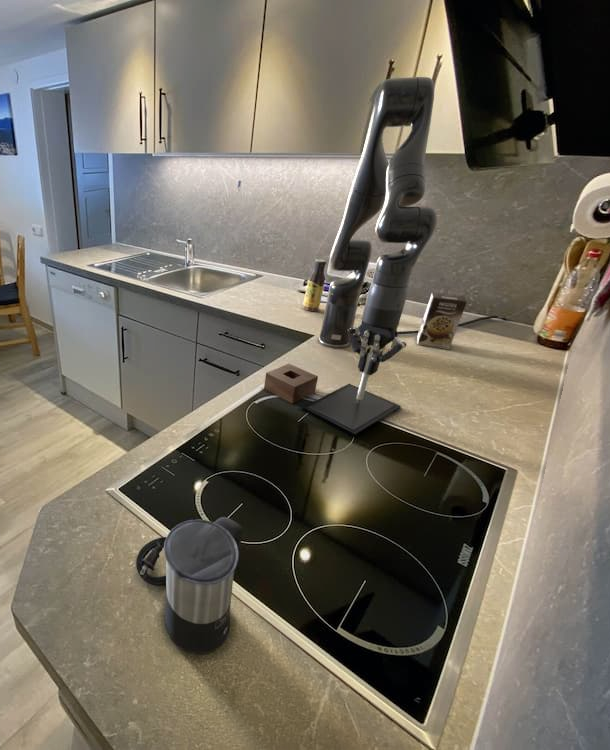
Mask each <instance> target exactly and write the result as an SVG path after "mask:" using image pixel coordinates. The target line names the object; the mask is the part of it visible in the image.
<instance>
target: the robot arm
mask: <svg viewBox="0 0 610 750" xmlns="http://www.w3.org/2000/svg"><path fill="white" fill-rule="evenodd" d="M373 101H374V102H373V106H372V109H371V113H370V118H369V123H368V127H367V131H366V135H365V141H364V144H363V149H362V152H361V156H360V159H359V162H358V165H357V169H356V171H355V175H354V178H353V180H352V183H351V187H350V191H349V194H348V197H347V201H346V205H345V209H344V214H343V217H342V221H341V223H340V227H339V229H338V231H337V234H336V236H335V239H334V243H333V246H332V248H331V251H330V255H329V261H328V262H329V263H328V264H329V268H330V269H331V270H332V271H336V272H350V273H349V274H348V275H347V276H345V277H342V278H339V279H335V280H333V281H331V283H330V284H329V288H328V293H327V298H326V304H325V308H324V313H323V319H322V322H321V323H322V324H321V328H320V333H319V337H318V342H319V343H320V344H322V345H324V346H326V347H330V348H346V347H348V346H349V345H351V348H352V351H353V353H355V354H356V353H357V354H358V355H359V360H358V363H357V364H358V365H357V368H358V372H360V373H363V371H364V367H365V363H366V359H367V355H368V353H372V358H371V361H370V363H369V367H368V371H367V374H368V375H369V376H372V375H374V374H376V373H377V372H378V369H379V366H380V362H381V363H384V362H386V361H388V360H390V359H391V358H393V357H394V356H395V355H397V354H398V353H400V351H403V349H404V348H406V347H407V342H405V341H401V340H400V339H399V338H398V335H414V334H418V333H419V330H420V329H418V330H402V331H401V330H400V331H398V327H399V325H400V321H401V317H402V315H403V310H404V308H405V303H406V301H407V297H408V291H409V290H408V289H409V285H410V282H411V278H412V275H413V271H414V268H415V266H416V263H417V262H418V260H419V258H420V256H421V255H422V252H423V251H424V249H425V248H426V246H427V244H428V243H429V241H430V240H431V239H432V237H433V235H434V233H435V230H436V229H437V226H438V214H437V212H436V210H435V209H434V208H432V207H431V206H413V205H415V204H417V203H419V202H420V201H421V200H422V199H423V197H424V195H425V193H426V152H427V147H428V146H427V145H428V140H429V135H430V129H431V128H430V127H431V123H432V115H433V110H434V109H433V108H434V101H435V83H434V80H433V79H432V78H431V77H428V76H412V77H392V78H387V79H385V80H384V81H383V82H382V83H381V84H380V86H379V87H378V90H377V93H376V94H375V99H374V100H373ZM402 127H403V128H406V127H407V128H408V127H411V130H410V133H409V134H408V136H407V137H406V139H405V140H404V141H403V143H402V144H401V145H400V146H399V147H398V148H397V150H396V151H395V152H394V153H393V155H392V156H391V158H390V160H388V158H387V155H386V152H385V149H384V148H385V147H384V142H383V135H384V131H385V129H386V128H402ZM379 212H380V214H379ZM378 214H379V216H378V219H377V221H376V224H375V230H374V231H375V232H374V233H375V236H376V238H377V239H378V240H379V241H380V242H381V243H384V244H405V245H404V247H403V248H402V249H400V250H398V251H397V252H396V251H395V252H391V253H385V254H382V255H380V256H379V257H378V258H377V261H376V264H375V268H374V271H373V276H372V280H371V283H370V286H369V288H368V292H367V295H366V298H365V304H364V308H363V311H362V315H361V321H360V323H359V324H358V326H354V325H355V321H356V314H357V310H358V305H359V300H360V297H361V293H362V289H363V286H364V283H365V277H366V274H367V270H368V268H369V264H370V261H371V257H372V251H373V245H372V243H371V241H369V240H363V239H352V238H353V236H354V235H355V234H356V232H358V230H360V229H361V228H362V227H363V226H364V225H365V224H367V223H368V222H369V221H371V220H372V219H373V218H374V217H375V216H377V215H378ZM496 315H497V314H495V315H494V314H493V315H489V316H482V317H478V318H476V319H472V320H469V321H464V322H461V323H459V324H458V327H457V328H460V327H464V326H467V325H471V324H474V323H476V322H479V321H485V320H486V321H487V320H491V319H499V318H498V316H496ZM500 319H501V320H502V321H507V318H506V317H505V318H500ZM390 343H391V345H390V348H391V349H389V350H388V351H386V353H384V352H385V350H386V347H387V345H389V344H390Z"/></svg>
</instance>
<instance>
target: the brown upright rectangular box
mask: <svg viewBox="0 0 610 750" xmlns="http://www.w3.org/2000/svg"><path fill="white" fill-rule="evenodd" d="M467 302H468V301H467V299H466V297H465V296H464V295H463V296H462V295H453V294H446V293H438V292H431V294H430V297H429V300H428V303H427V306H426V308H425V312H424V315H423V318H422V321H421V324H420V326H419V329H418V330H419V333H417V336H416V344H417V345H419V346H426V347H433V348H439V349H444V350H450V348H451V345H452V342H453V340H454V337H455V335H456V332H457V329H458V328H459V327H458V324H460V322H461V319H462V316H463V314H464V312H465V308H466V306H467Z"/></svg>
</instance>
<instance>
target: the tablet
mask: <svg viewBox="0 0 610 750" xmlns="http://www.w3.org/2000/svg"><path fill="white" fill-rule="evenodd" d="M358 390H359V386H356V385H354V384H351V383H347V384H346V385H344V386H342V387H340V388H338V389H336V390H333V391H331V392H330V393H328V394H325V395H324V396H322V397H319V398H318V399H316V400H313V401H312V402H310V403H308V404H306V405H304V406H302V408H301V410H302V411H304V412H305V413H307V414H309V415H311V416H313V417H315V418H317V419H318V420H320V421H322V422H324V423H326V424H328V425H330V426H331V427H334V428H335V429H337V430H339V431H341V432H343V433H345V434H347V435H349V436H350V437H353V438H356V437H357V436H359V435H360V434H362V433H364V432H365V431H367V430H369V429H371V427H374V426H375V425H377V424H378V423H380V422H381V421H383V420H384V419H386V418H388V417H389V416H391V415H393V414H394V413H396V412H398V411H399V410H401V408H402V405H400V404H397V403H395V402H393V401H391V400H388V399H386V398H384V397H381V396H379V395H377V394H375V393H372V392H370V391H368V390H365V392H364V396H363V399H362V400H361V401H360V403H357V400H358V399H357V398H356V397H357V394H358Z"/></svg>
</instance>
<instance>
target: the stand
mask: <svg viewBox="0 0 610 750" xmlns="http://www.w3.org/2000/svg"><path fill="white" fill-rule="evenodd" d="M264 377H265V379H264V385H263V390H264V391H267V392H269V393H271V394H273V395H274V396H277V397H278V398H280V399H282V400H284V401H286V402H288V403H290V404H292V405H293V404H294V403H297V402H299V401H301V400H303V399H305V398H308V397H309V396H311V395H313V394H315V393H316V390H317V389H316V388H317V384H318V379H319V376H318V375H316V374H314V373H311V372H309V371H307V370H305V369H302V368H300V367H298V366H296V365H293V364H291V363H286V364H285V365H282V366H279V367H276V368H273V369H272V370H270V371H268V372H265V376H264Z"/></svg>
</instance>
